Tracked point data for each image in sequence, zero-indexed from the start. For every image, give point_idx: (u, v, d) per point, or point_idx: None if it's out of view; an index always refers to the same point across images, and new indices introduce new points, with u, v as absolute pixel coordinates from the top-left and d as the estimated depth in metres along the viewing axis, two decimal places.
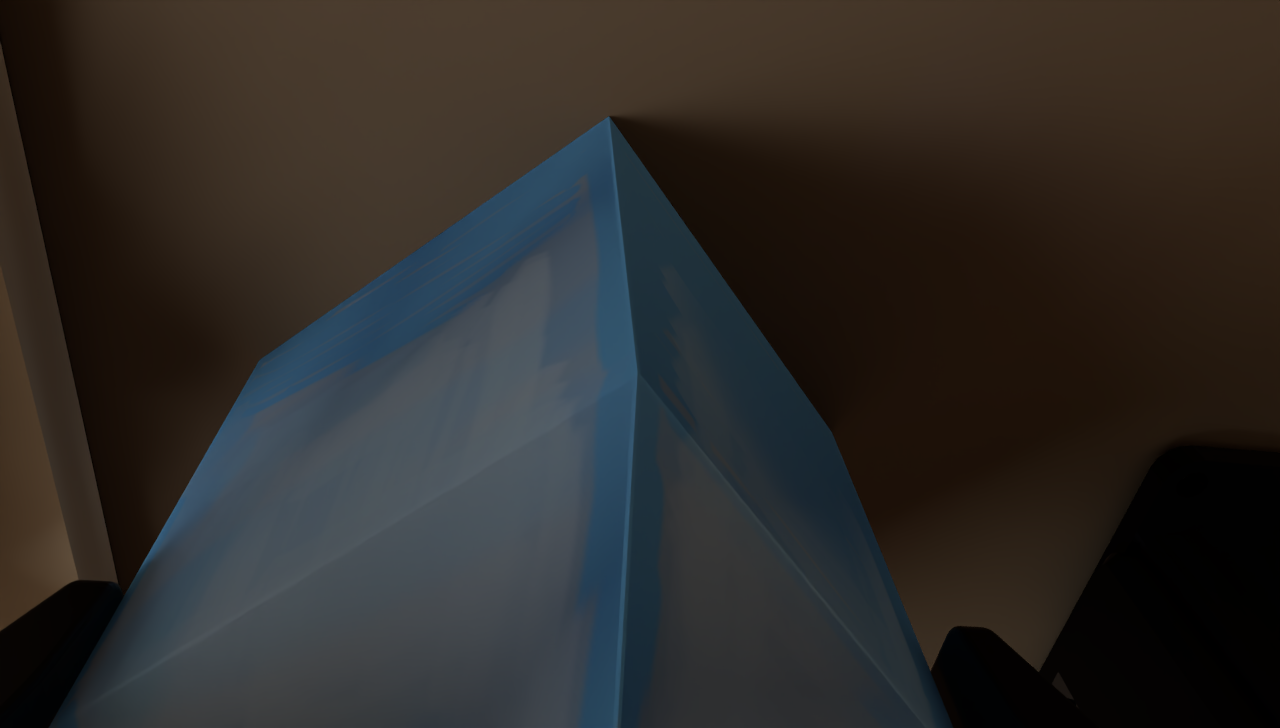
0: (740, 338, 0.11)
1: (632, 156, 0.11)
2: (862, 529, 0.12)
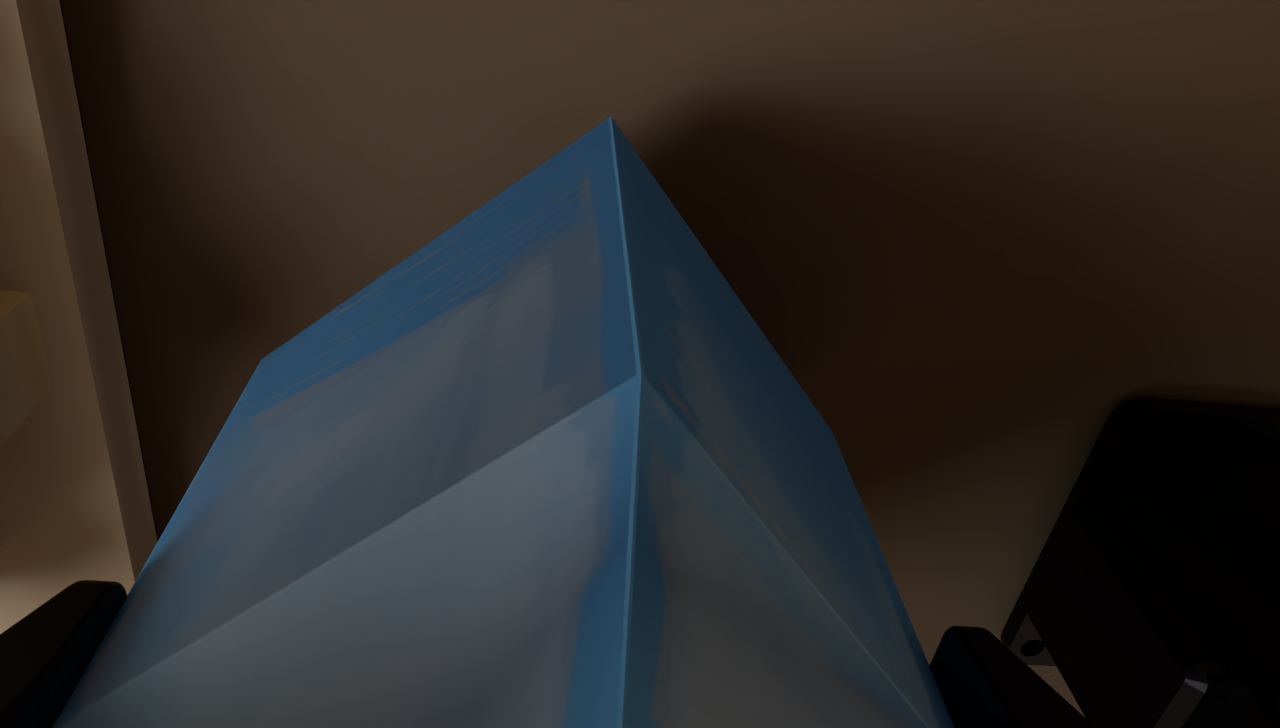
0: (742, 339, 0.11)
1: (634, 157, 0.11)
2: (863, 530, 0.12)
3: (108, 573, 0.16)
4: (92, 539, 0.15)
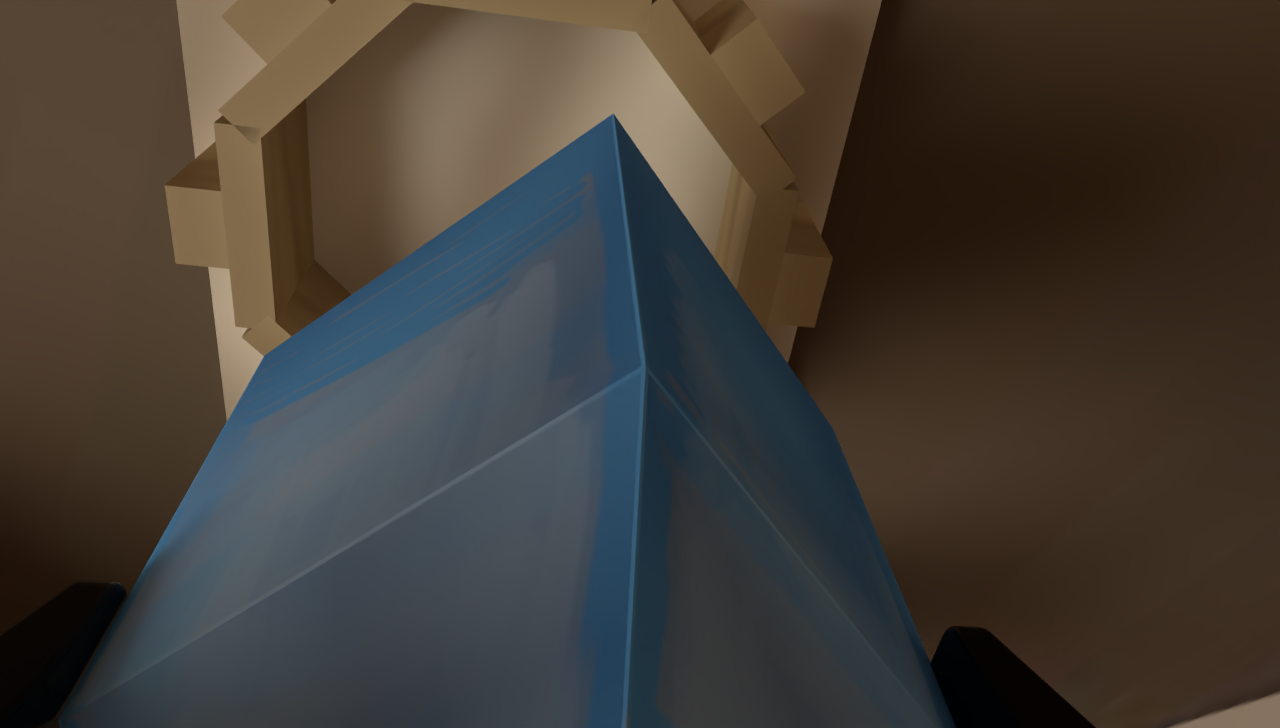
0: (743, 335, 0.11)
1: (636, 154, 0.11)
2: (864, 525, 0.12)
3: None
4: None
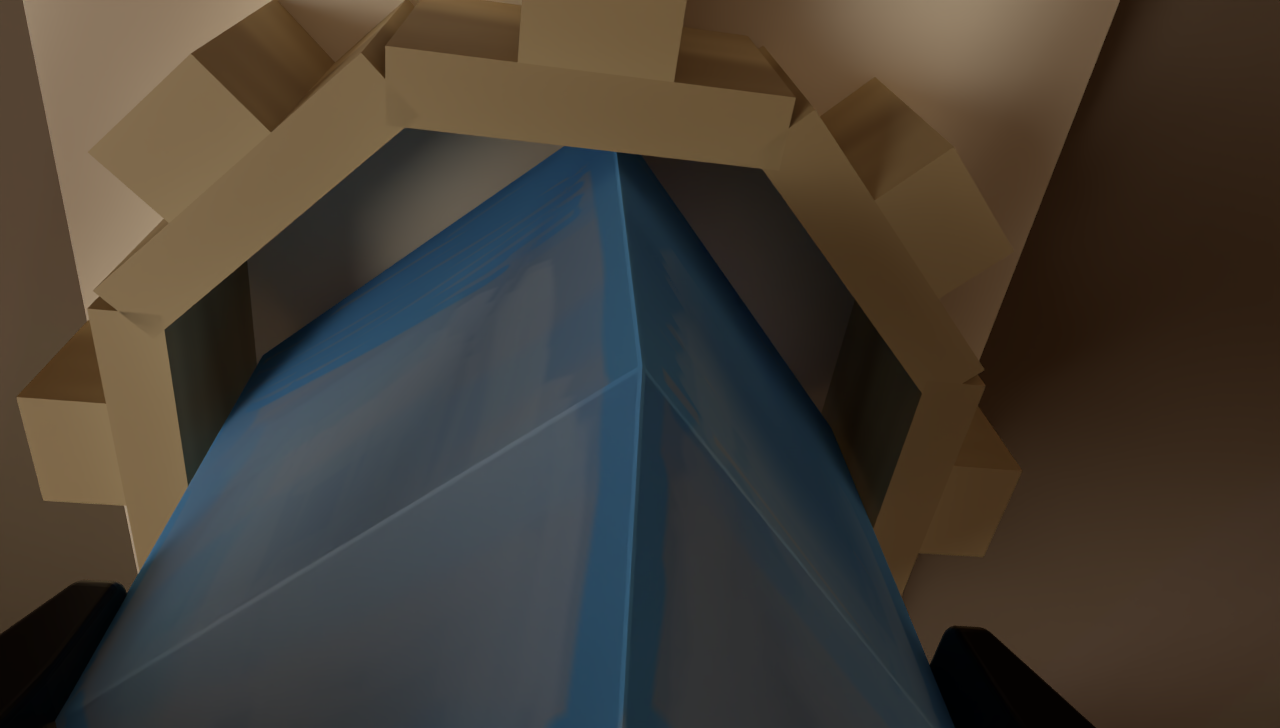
0: (742, 335, 0.11)
1: None
2: (862, 525, 0.12)
3: None
4: None
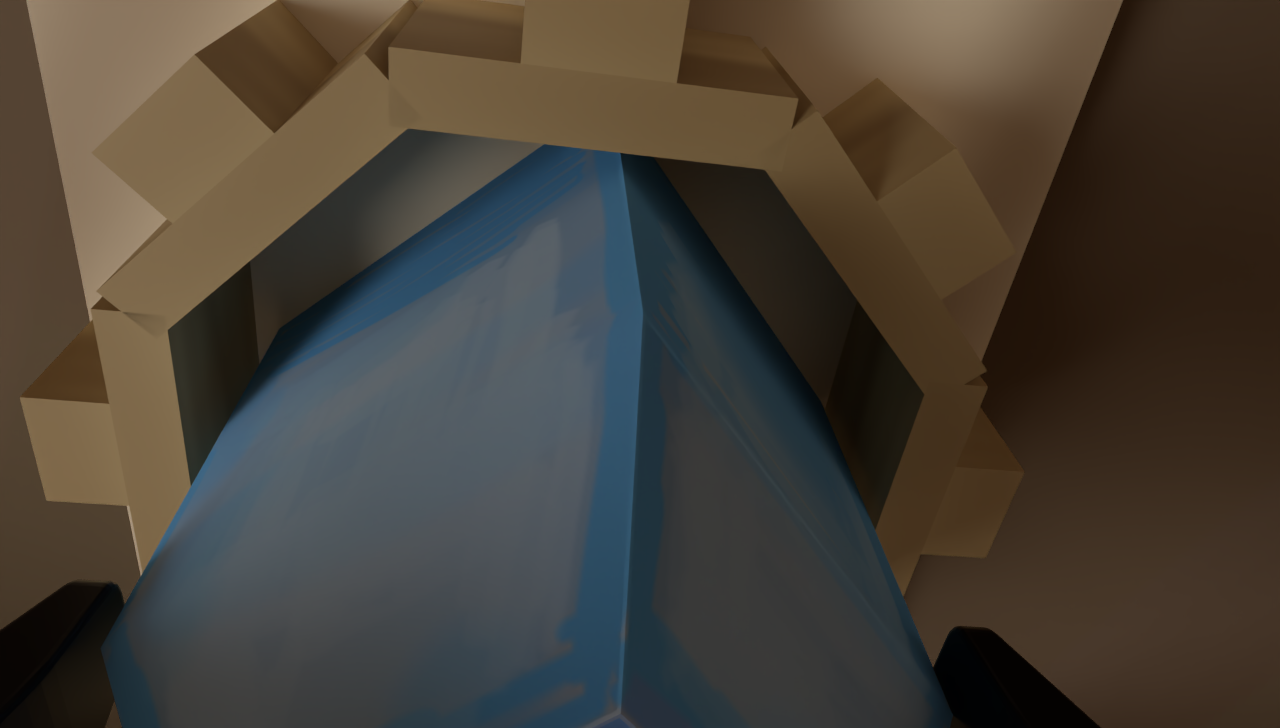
0: (734, 306, 0.12)
1: None
2: (848, 486, 0.12)
3: None
4: None
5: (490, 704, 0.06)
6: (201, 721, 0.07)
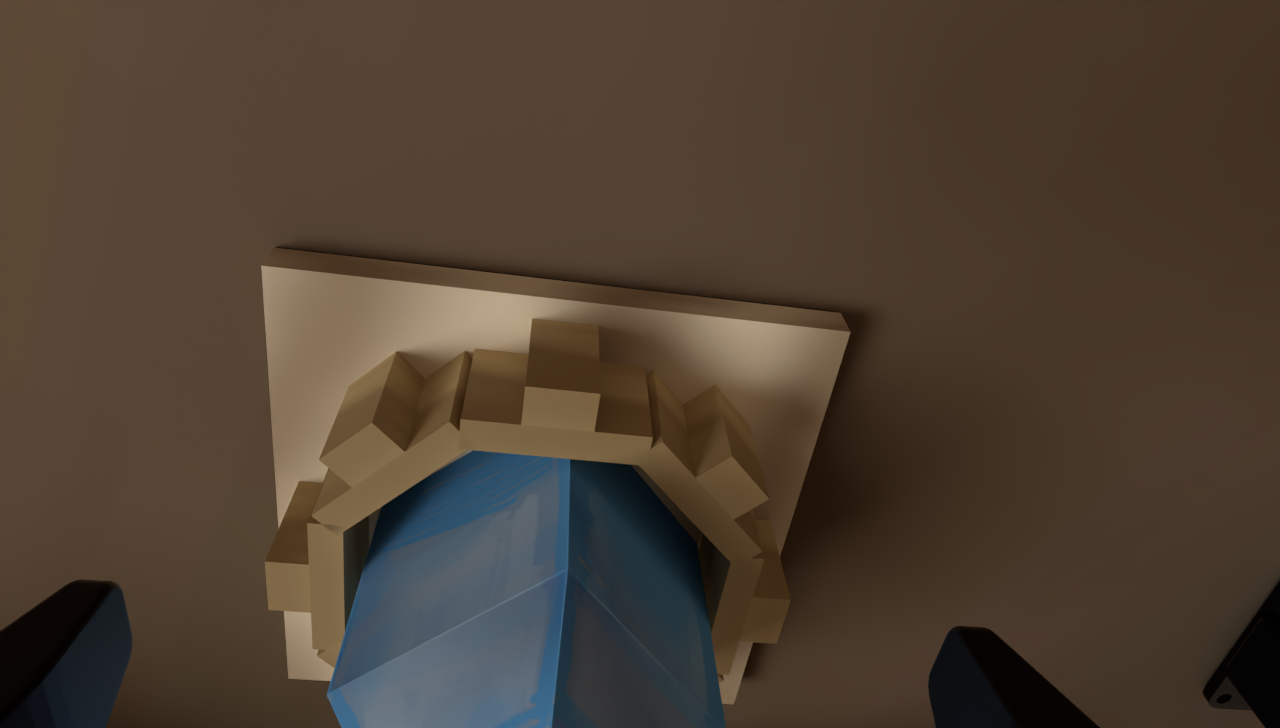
0: (634, 509, 0.23)
1: None
2: (696, 605, 0.23)
3: (737, 653, 0.28)
4: None
5: (505, 726, 0.17)
6: None
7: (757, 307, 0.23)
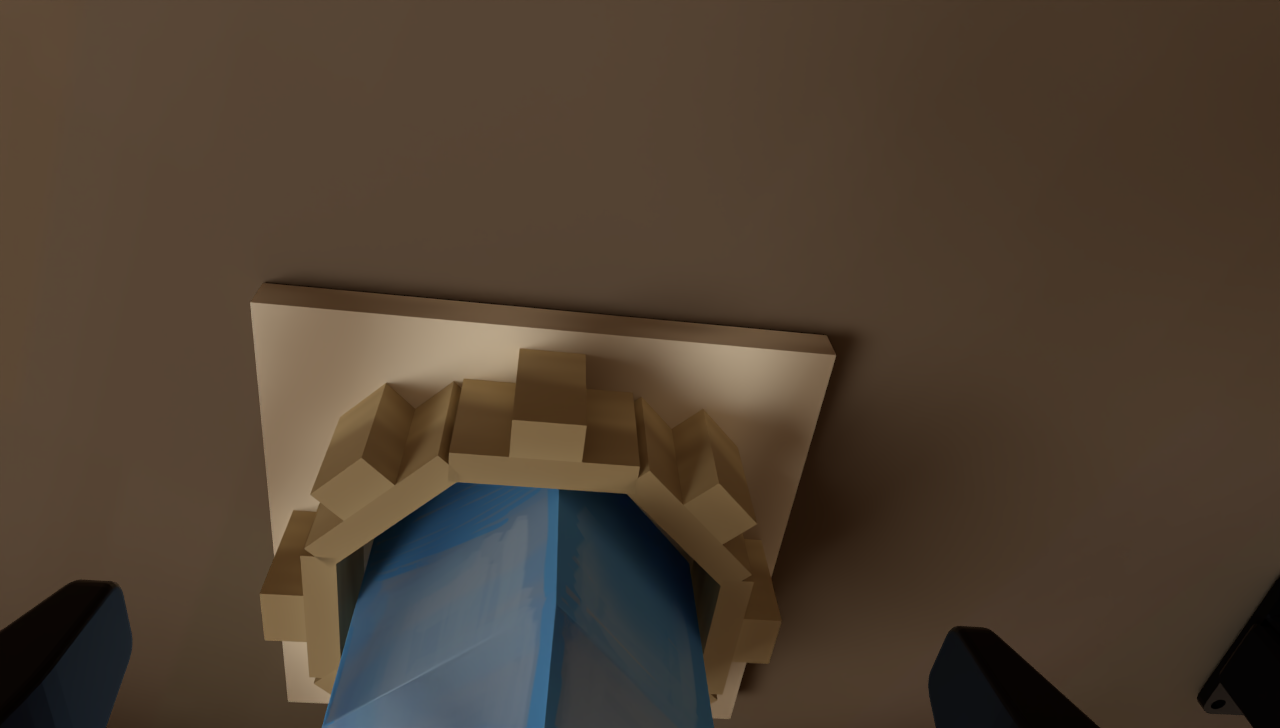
0: (624, 534, 0.23)
1: None
2: (688, 627, 0.23)
3: (732, 669, 0.28)
4: None
5: None
6: None
7: (743, 332, 0.23)
